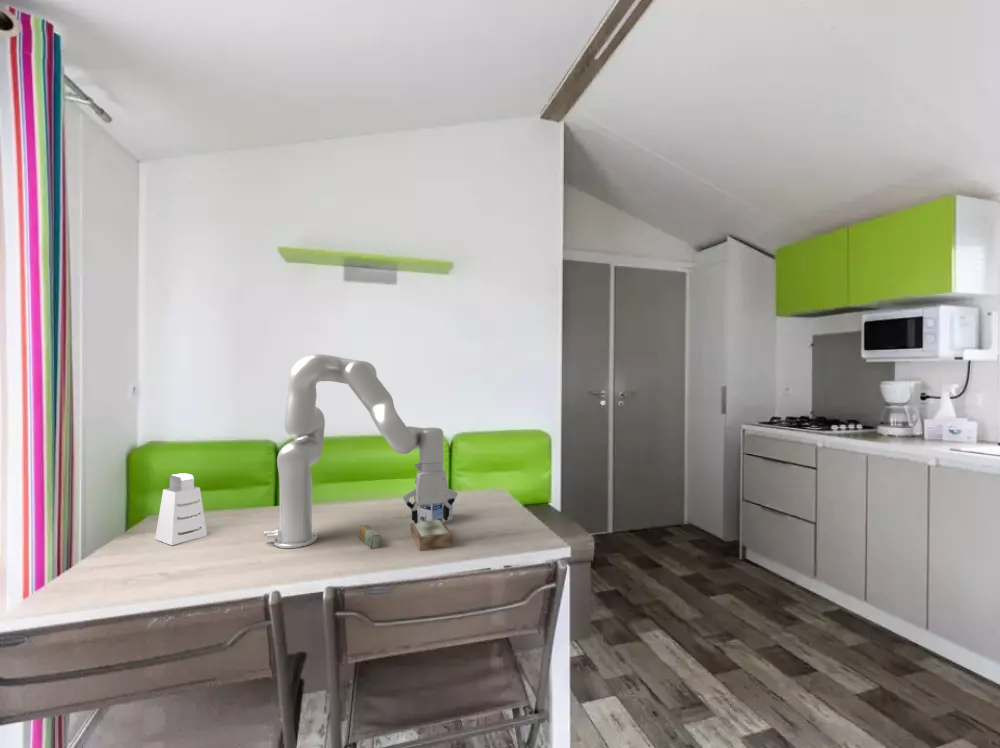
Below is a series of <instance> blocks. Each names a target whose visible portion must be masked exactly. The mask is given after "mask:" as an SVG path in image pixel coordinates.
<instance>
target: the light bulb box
mask: <svg viewBox="0 0 1000 748" xmlns="http://www.w3.org/2000/svg"><path fill="white" fill-rule="evenodd" d="M451 496H452V494H449V493H448V500H449V499H450V498H451ZM448 500H447V501H448ZM453 504H454V503H453ZM453 504H452V505H451V506H450V508H449V517H448V520H447V521H446V520H445V519H444V518H443V506H444V503H441V504H430V505H419V522H425V521H434V520H441V521H442V522H443V523H446V522H449V521H451V520H453Z"/></svg>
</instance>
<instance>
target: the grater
mask: <svg viewBox="0 0 1000 748" xmlns="http://www.w3.org/2000/svg"><path fill="white" fill-rule="evenodd" d="M202 498H203V497H202V492H201V487H199V486H195V478H194V476H193V474H190V473H184V472H183V473H181V472H180V473H177V474H176V473H175V474H171V475H170V477H169V488H167V487H166V488H163V489H162V495H161V500H160V501H161V502H160V507H159V515H158V518H157V519H158V520H157V525H156V526H157V527H156V531H155V537H154V540H156V541H159V542H161V543H163V544H164V543H165V544H168V545H170V546H174V545H178V544H182V543H185V542H188V541H193V540H196V539H200V538H203V537H207V536H208V531H207V525H206V517H205V512H204V506H203V505H204V504H203V501H202V500H203V499H202ZM190 531H192V532H190ZM186 532H189V533H186ZM182 533H184V534H182Z"/></svg>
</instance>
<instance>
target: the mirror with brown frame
mask: <svg viewBox="0 0 1000 748" xmlns="http://www.w3.org/2000/svg"><path fill="white" fill-rule="evenodd" d="M444 523H445V522H444ZM444 523H443V522H442V521H441V520H434V521H425V522H420V521H418V523H417V524H415V523H414V522H411V523H410V536H411V538H412V539H413V541H414V543H415V545H416V547H417V549H418V551H419V552H422V551H423V552H424V551H430V550H438V549H439V550H440V549H443V548H445V549H446V548H452V547H453V533H452V532H451V530H449V528H448V527H447V526H446V524H444Z"/></svg>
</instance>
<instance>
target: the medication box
mask: <svg viewBox="0 0 1000 748" xmlns="http://www.w3.org/2000/svg"><path fill="white" fill-rule="evenodd" d="M358 538H359V539H360V540H361V541H362V542H363V543H364V544H366V545H367V546H368V547H369V549H371V550H373V549H379V547H380V544H381V543H380V542H381V534H380V533H378V532H377V531H376V530H375V529H374V528H372V527H371V526H370V525H369V524H360V525H359V532H358Z"/></svg>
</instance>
